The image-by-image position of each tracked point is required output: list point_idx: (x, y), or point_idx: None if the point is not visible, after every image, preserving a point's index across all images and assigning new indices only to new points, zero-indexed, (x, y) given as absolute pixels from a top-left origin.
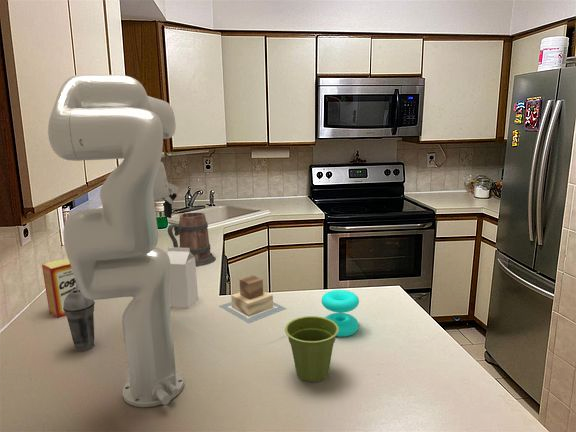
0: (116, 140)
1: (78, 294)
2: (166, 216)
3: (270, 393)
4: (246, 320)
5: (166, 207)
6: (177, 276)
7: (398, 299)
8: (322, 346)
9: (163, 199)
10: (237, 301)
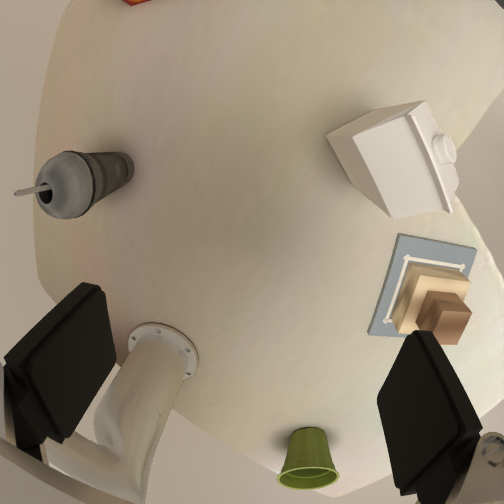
0: None
1: (47, 209)
2: (394, 369)
3: (254, 428)
4: (375, 325)
5: (409, 447)
6: (364, 179)
7: (500, 395)
8: (294, 481)
9: (451, 493)
10: (409, 293)
